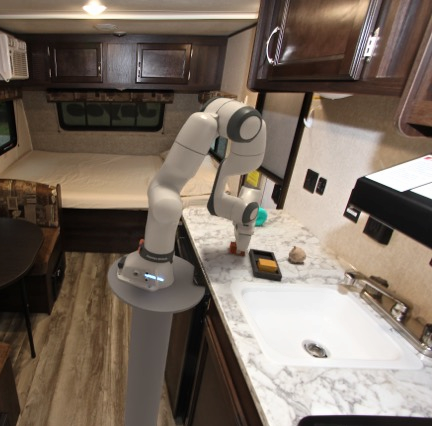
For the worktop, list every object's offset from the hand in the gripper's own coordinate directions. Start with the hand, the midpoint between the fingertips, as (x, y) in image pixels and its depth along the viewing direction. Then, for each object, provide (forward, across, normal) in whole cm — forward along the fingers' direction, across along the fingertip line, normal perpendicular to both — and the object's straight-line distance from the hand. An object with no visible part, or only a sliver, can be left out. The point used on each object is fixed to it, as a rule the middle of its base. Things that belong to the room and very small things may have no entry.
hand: (237, 249), depth 130 cm
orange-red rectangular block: (+2, 0, 0) cm, 2 cm away
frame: (+2, +8, +10) cm, 13 cm away
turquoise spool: (+2, -36, +11) cm, 38 cm away
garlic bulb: (+2, -1, +24) cm, 24 cm away
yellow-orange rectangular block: (+1, +12, +10) cm, 16 cm away
